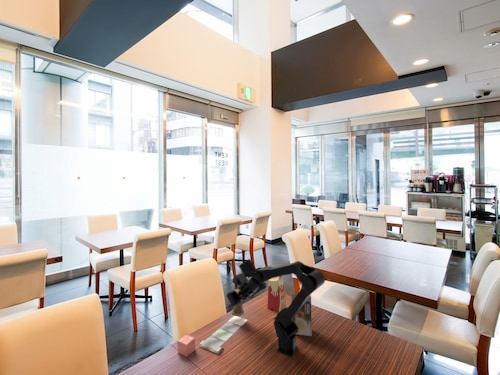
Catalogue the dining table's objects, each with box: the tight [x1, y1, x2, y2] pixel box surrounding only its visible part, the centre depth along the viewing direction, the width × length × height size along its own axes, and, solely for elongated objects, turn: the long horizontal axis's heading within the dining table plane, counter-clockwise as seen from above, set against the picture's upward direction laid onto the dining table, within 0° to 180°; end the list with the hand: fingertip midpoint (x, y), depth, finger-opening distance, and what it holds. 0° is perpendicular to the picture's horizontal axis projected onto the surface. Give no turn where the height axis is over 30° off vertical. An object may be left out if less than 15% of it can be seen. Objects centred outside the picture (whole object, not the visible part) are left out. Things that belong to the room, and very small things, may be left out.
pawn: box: [231, 288, 245, 317], centre depth 126 cm, size 6×6×11 cm
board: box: [198, 315, 248, 355], centre depth 118 cm, size 10×26×1 cm, turn 150°
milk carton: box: [266, 276, 288, 313], centre depth 140 cm, size 9×9×20 cm
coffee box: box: [291, 293, 313, 337], centre depth 120 cm, size 9×6×16 cm
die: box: [177, 334, 196, 358], centre depth 107 cm, size 5×5×5 cm
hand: (235, 301), depth 127 cm, fingers closed on pawn, 5 cm apart
